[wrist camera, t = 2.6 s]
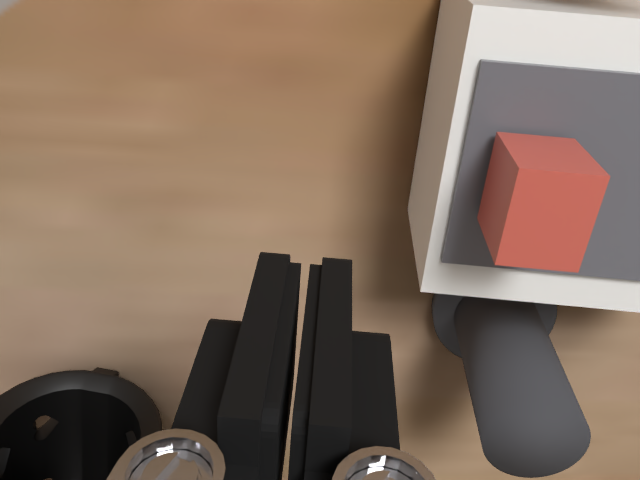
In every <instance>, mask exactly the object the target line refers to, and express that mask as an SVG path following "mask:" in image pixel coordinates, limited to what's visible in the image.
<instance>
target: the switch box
mask: <svg viewBox="0 0 640 480" xmlns="http://www.w3.org/2000/svg"><path fill="white" fill-rule="evenodd" d="M496 132H506V133H518V134H529V135H540V136H551V137H563V138H574V139H576V140H577V142H578V143H579V144H580V145H581V146H582V147H583V148H584V149H585V150H586V151H587V152H588V153H589V154H590V155H591V156H592V157H593V158H594V160H595V161H596V162H597V163H598V164H599V165H600V166H601V167H602V168H603V169H604V170H605V171H606V172H607V173H608V174H609V175H610V179H609V182H608V185H607V188H606V191H605V194H604V197H603V200H602V203H601V206H600V209H599V212H598V215H597V218H596V221H595V224H594V227H593V230H592V233H591V236H590V239H589V242H588V245H587V248H586V251H585V254H584V257H583V260H582V263H581V266H580V269H579V272H578V273H576V272H565V271H555V270H544V269H533V268H522V267H511V266H501V265H495V264H494V262H493V259H492V256H491V254H490V251H489V248H488V246H487V243H486V240H485V238H484V235H483V233H482V230H481V227H480V225H479V222H478V219H477V216H478V212H479V207H480V203H481V199H482V194H483V190H484V185H485V181H486V176H487V172H488V167H489V163H490V159H491V154H492V150H493V145H494V141H495V136H496ZM408 216H409V222H410V229H411V235H412V241H413V248H414V254H415V261H416V267H417V274H418V280H419V286H420V292H428V293H438V294H449V295H460V296H470V297H481V298H492V299H502V300H513V301H524V302H534V303H545V304H555V305H566V306H577V307H587V308H598V309H609V310H619V311H630V312H640V0H441V3H440V9H439V15H438V21H437V28H436V34H435V40H434V47H433V53H432V59H431V65H430V72H429V78H428V84H427V90H426V97H425V103H424V109H423V115H422V122H421V128H420V134H419V141H418V147H417V153H416V159H415V166H414V172H413V178H412V184H411V191H410V197H409V203H408Z"/></svg>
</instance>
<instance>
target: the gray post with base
mask: <svg viewBox="0 0 640 480" xmlns="http://www.w3.org/2000/svg"><path fill="white" fill-rule="evenodd" d="M432 316H433V321H434V326H435V331H436V333H437V336H438V337H439V339H440V341H441V342H442V343H443V345H444V346H445V347H446V348H447V349H448V350H449V351H451V352H452V353H454V354H455V355H457V356H459V357H461V358H462V360H463V364H464V369H465V373H466V378H467V382H468V386H469V391H470V395H471V400H472V404H473V409H474V413H475V417H476V422H477V426H478V431H479V435H480V440H481V444H482V448H483V452H484V455H485V457H486V458H487V460H488V461H489V462H490V463H491V464H492V465H493V466H494V467H496V468H497V469H499V470H500V471H502V472H504V473H507V474H510V475H514V476H518V477H528V478H533V477H544V476H549V475H552V474H556V473H558V472H561V471H563V470H565V469H567V468H569V467H571V466H572V465H574V464H575V463H576V462H577V461H579V460H580V458H581V457H582V456H583V455H584V454H585V452H586V451H587V449H588V447H589V444H590V438H591V435H590V429H589V426H588V424H587V421H586V419H585V417H584V415H583V412H582V410H581V408H580V406H579V403H578V401H577V399H576V397H575V394H574V392H573V390H572V388H571V385H570V383H569V381H568V379H567V376H566V374H565V372H564V369H563V367H562V365H561V363H560V360H559V358H558V356H557V354H556V351H555V349H554V347H553V345H552V342H551V340H550V338H549V336H548V335H549V334H550V332H551V330H552V329H553V326H554V324H555V320H556V316H557V305H555V304H545V303H534V302H524V301H513V300H502V299H492V298H481V297H470V296H460V295H449V294H438V293H434V296H433V299H432Z"/></svg>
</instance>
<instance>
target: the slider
mask: <svg viewBox="0 0 640 480" xmlns="http://www.w3.org/2000/svg"><path fill="white" fill-rule="evenodd" d="M609 179H610V175H609V174H608V173H607V172H606V171H605V170H604V169H603V168H602V167H601V166H600V165H599V164H598V163H597V162H596V161H595V160H594V158H593V157H592V156H591V155H590V154H589V153H588V152H587V151H586V150H585V149H584V148H583V147H582V146H581V145H580V144H579V143H578V142H577V140H576V139H574V138H563V137H551V136H540V135H529V134H518V133H506V132H496V136H495V141H494V145H493V150H492V154H491V159H490V163H489V167H488V172H487V176H486V181H485V185H484V190H483V194H482V199H481V203H480V207H479V212H478V216H477V219H478V222H479V225H480V227H481V230H482V233H483V235H484V238H485V240H486V243H487V246H488V248H489V251H490V254H491V256H492V259H493V262H494V264H495V265H501V266H511V267H522V268H533V269H544V270H555V271H565V272H576V273H578V272H579V269H580V266H581V263H582V260H583V257H584V254H585V251H586V248H587V245H588V242H589V239H590V236H591V233H592V230H593V227H594V224H595V221H596V218H597V215H598V212H599V209H600V206H601V203H602V200H603V197H604V194H605V191H606V188H607V185H608V182H609Z"/></svg>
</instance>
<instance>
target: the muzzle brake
mask: <svg viewBox="0 0 640 480" xmlns="http://www.w3.org/2000/svg"><path fill="white" fill-rule="evenodd" d="M43 415H47V416H49V417H51V418H50V419H49V420H48V421H47V422H46V423H45V424H44V425H43V426H41V427H39V428H36V422H35V420H36V419H37V418H38V417H40V416H43ZM158 431H162V422H161V418H160V415H159V411H158V409H157V407H156V406H155V404H154V402H153V400H152V399H151V398H150V397H149V396H148V395H147V394H146V393H145V392H144V391H143V390H142V389H141V388H139V387H138V386H136V385H135V384H133V383H132V382H130V381H127V380H125V379H123V378H121V377H119V372H118V371H114V370H108V369H103V368H96V369H95V370H93V371H86V370H77V371H63V372H56V373H50V374H47V375H43V376H40V377H36V378H33V379H31V380H28V381H26V382H23V383H21V384H19V385H17V386H15V387H13V388H11V389H10V390H8V391H6V392H5V393H3V394H1V395H0V480H44V479H47V478H52V480H106V479H107V478H108V476H109V474H110V473H111V471H112V470H113V468H114V466H115V465H116V463H117V461H118V460H119V459H120V457H121V456H122V455H123V454H124V453H125V451H126V450H127V449H128V448H129V447H130V446H131V445H133V444H134V443H136V442H137V441H138V440H140V439H141V438H143V437H145V436H148V435H150V434H153V433H155V432H158Z"/></svg>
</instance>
